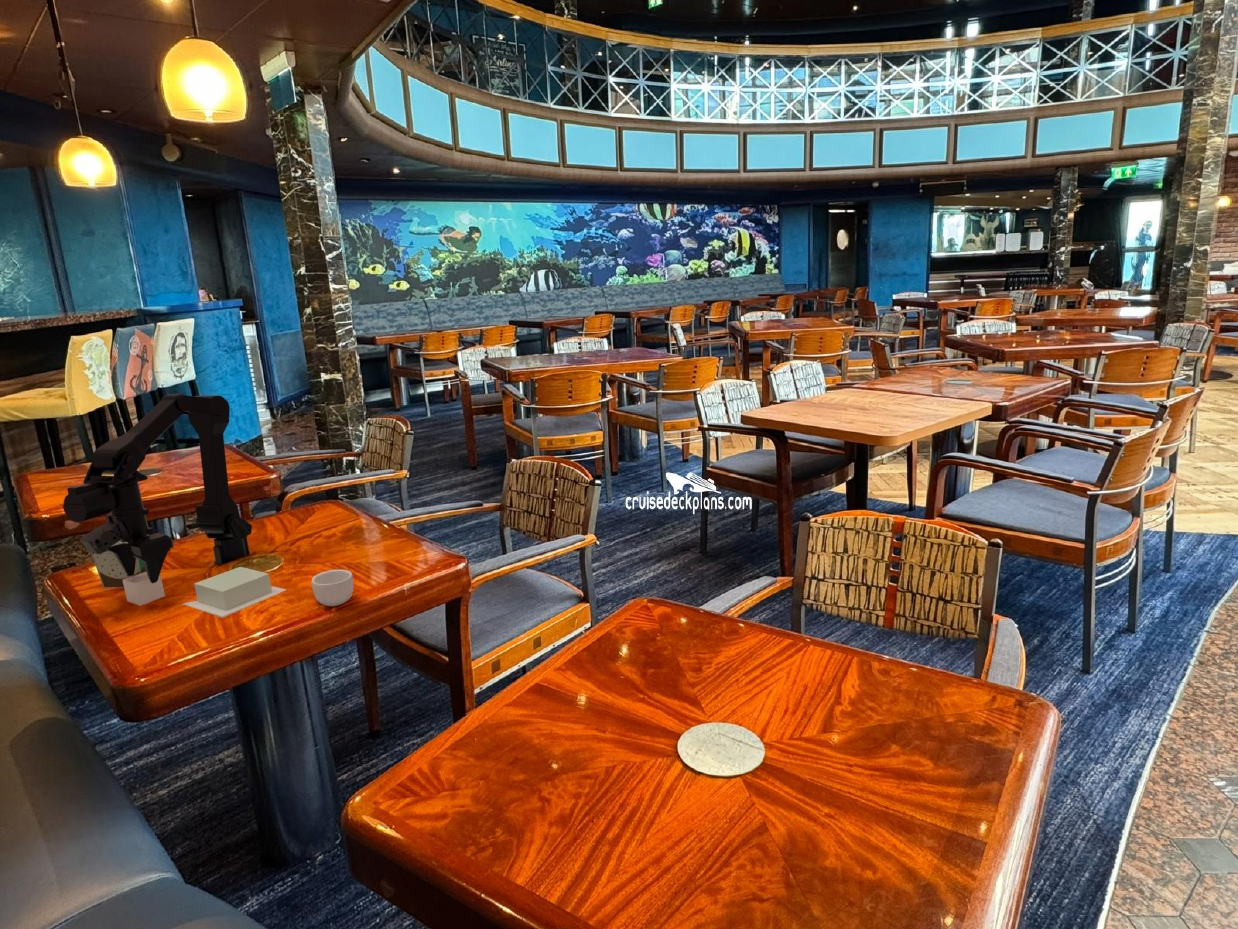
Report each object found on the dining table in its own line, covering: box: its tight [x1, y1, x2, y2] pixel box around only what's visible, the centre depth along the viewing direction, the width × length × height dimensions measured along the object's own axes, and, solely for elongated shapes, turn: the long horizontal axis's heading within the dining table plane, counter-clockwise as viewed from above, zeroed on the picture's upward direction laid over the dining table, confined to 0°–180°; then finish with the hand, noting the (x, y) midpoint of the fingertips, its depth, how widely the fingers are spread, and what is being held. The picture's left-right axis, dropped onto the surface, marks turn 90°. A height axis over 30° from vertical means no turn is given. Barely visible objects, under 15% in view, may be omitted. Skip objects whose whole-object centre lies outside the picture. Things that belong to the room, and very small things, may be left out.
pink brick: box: [123, 572, 166, 607], centre depth 153 cm, size 5×5×6 cm
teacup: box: [311, 569, 354, 607], centre depth 149 cm, size 10×8×5 cm
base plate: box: [183, 585, 287, 619], centre depth 152 cm, size 14×14×1 cm
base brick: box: [193, 566, 272, 611], centre depth 151 cm, size 10×10×4 cm
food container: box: [88, 550, 146, 589], centre depth 164 cm, size 12×6×10 cm, turn 84°
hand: (142, 579), depth 152 cm, fingers open, 9 cm apart
